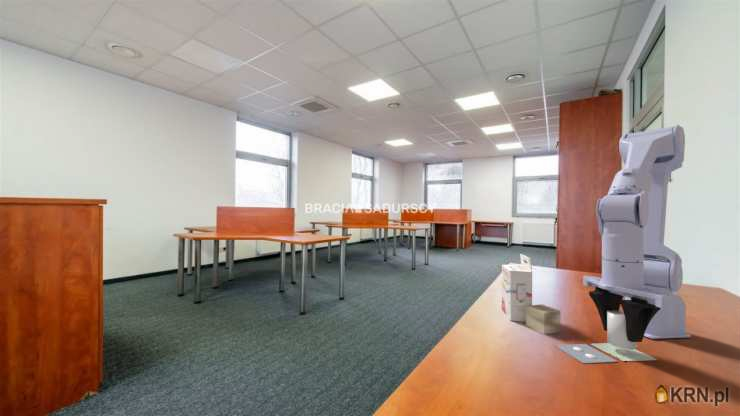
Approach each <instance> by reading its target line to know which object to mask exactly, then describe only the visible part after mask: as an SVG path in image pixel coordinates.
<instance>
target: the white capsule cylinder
mask: <svg viewBox="0 0 740 416" xmlns="http://www.w3.org/2000/svg"><path fill="white" fill-rule="evenodd" d="M606 332H607V333H606V335H607V337H606V341H607V342H606V343H609V344H611V345H613V346H616V347H619V348H623V349H629V350H634V349H636V350H637V346H638V345H637V343H638V342H630V341H628V339H627V334H626V320H625V315H624V311H623V310H619V311H618V310H608V311H607V331H606Z"/></svg>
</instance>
